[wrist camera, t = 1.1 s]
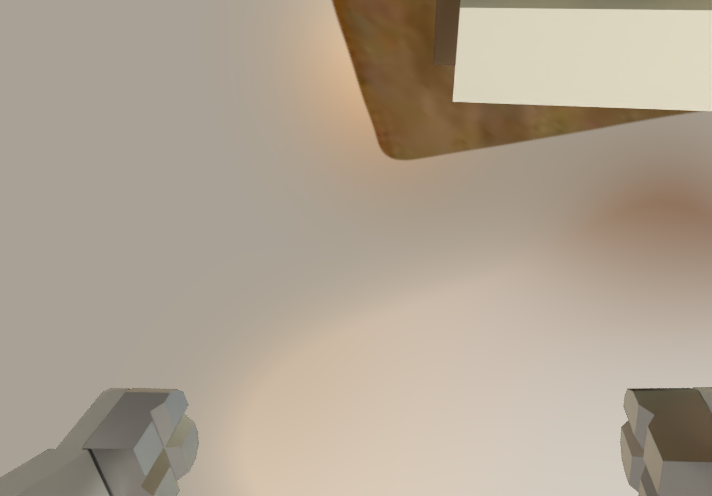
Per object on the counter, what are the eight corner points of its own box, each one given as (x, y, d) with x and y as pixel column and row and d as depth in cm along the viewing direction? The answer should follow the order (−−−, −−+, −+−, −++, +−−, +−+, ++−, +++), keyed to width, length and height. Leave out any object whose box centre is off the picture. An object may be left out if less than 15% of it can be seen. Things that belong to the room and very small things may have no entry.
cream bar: (455, 66, 25) (452, 101, 22) (462, -21, 22) (459, 7, 20) (748, 74, 23) (784, 113, 20) (788, -20, 21) (835, 11, 18)
